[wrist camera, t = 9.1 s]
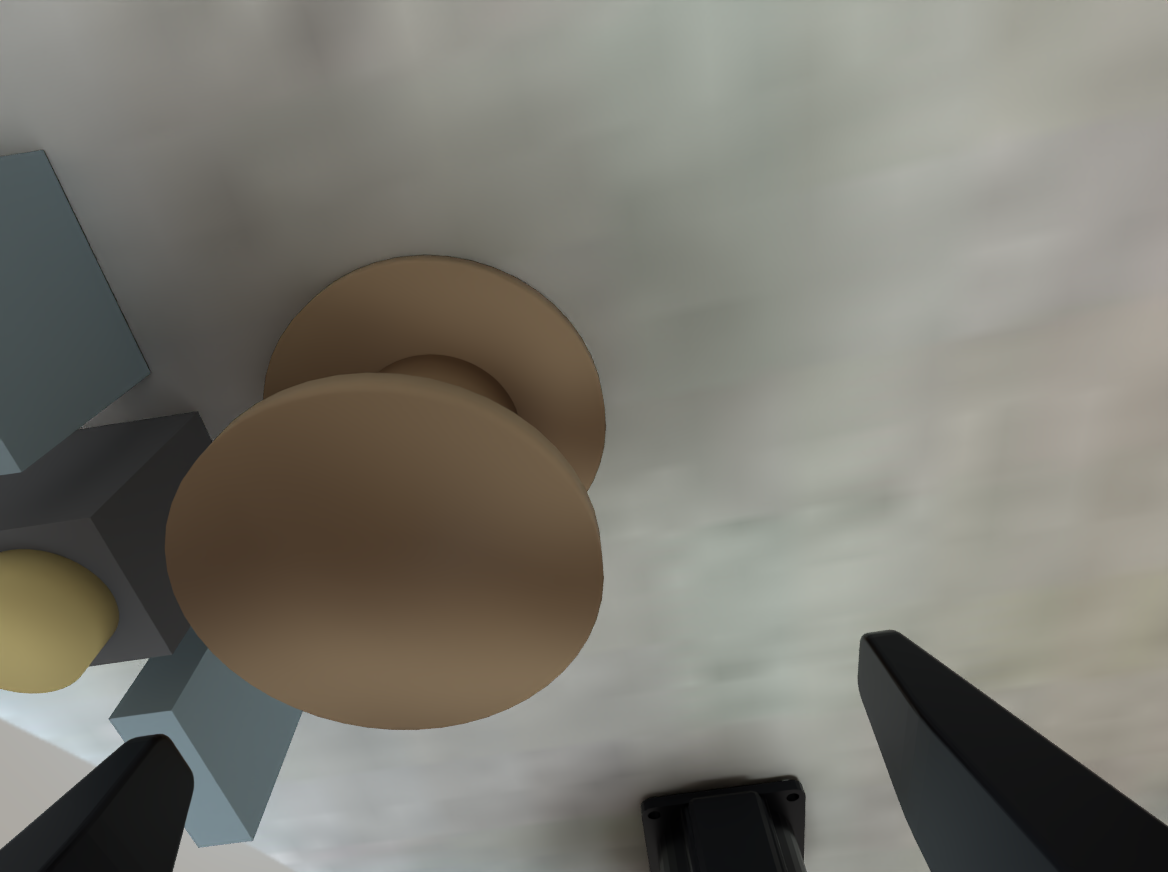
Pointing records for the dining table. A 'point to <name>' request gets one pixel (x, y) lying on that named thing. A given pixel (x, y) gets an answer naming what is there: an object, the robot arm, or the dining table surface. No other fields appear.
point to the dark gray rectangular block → (92, 552)
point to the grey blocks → (57, 409)
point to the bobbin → (402, 503)
